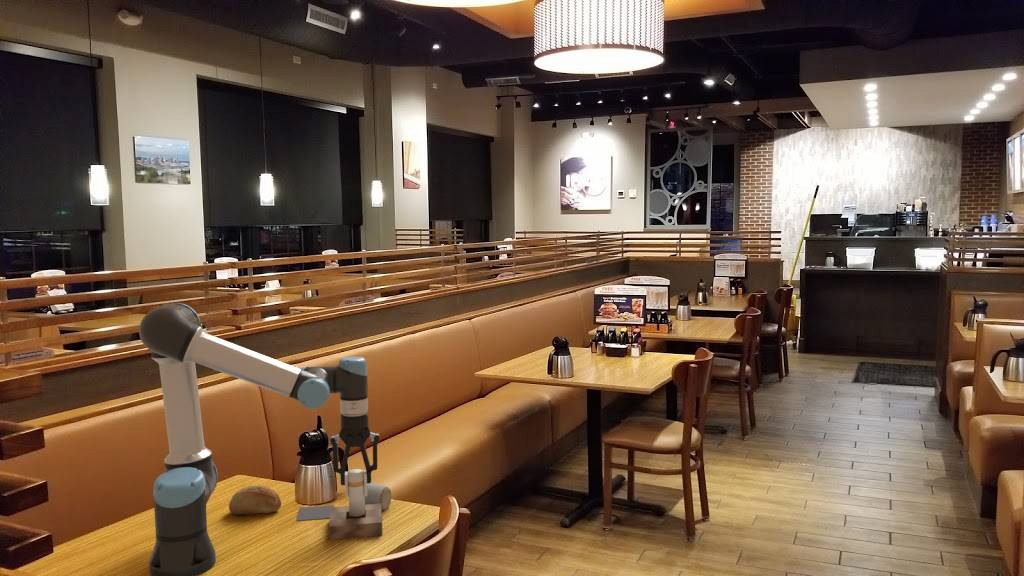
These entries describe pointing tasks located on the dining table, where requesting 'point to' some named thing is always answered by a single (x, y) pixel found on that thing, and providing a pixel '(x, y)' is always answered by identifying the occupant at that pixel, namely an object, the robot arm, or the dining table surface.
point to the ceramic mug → (378, 495)
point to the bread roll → (254, 500)
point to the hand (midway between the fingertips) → (356, 495)
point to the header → (355, 523)
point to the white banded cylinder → (356, 492)
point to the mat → (314, 513)
